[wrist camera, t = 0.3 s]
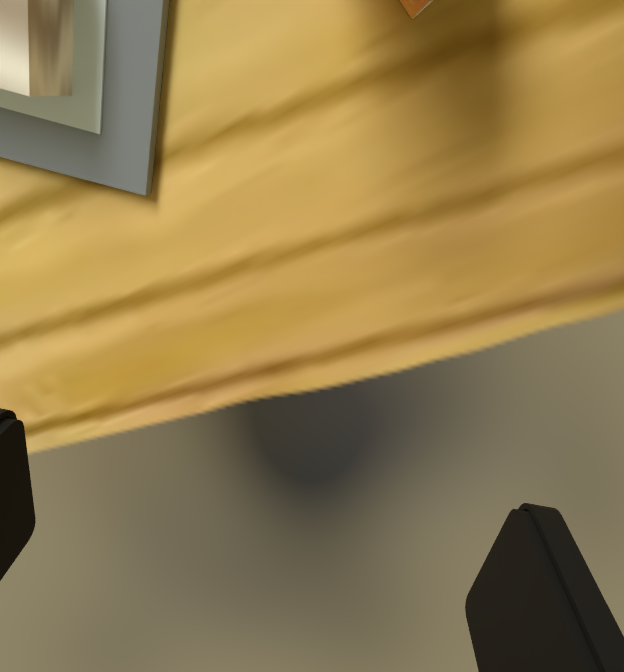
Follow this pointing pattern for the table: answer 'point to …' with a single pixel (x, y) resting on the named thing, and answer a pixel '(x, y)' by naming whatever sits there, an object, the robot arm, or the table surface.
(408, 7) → the small box
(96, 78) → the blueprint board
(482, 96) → the table surface
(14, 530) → the robot arm
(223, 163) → the table surface
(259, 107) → the table surface
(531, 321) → the table surface
